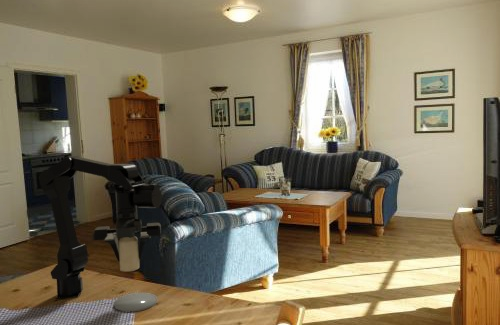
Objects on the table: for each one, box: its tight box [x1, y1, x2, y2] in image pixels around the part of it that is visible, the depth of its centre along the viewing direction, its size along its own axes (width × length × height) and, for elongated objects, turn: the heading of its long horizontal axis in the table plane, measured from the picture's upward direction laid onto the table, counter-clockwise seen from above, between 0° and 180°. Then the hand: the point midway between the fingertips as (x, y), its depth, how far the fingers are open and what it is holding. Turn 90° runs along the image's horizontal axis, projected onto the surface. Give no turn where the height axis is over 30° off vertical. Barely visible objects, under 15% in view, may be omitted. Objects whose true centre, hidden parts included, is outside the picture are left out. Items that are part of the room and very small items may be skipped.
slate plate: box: [113, 292, 158, 313], centre depth 118 cm, size 12×12×1 cm
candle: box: [118, 236, 140, 273], centre depth 118 cm, size 6×6×10 cm
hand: (129, 260), depth 118 cm, fingers closed on candle, 5 cm apart
